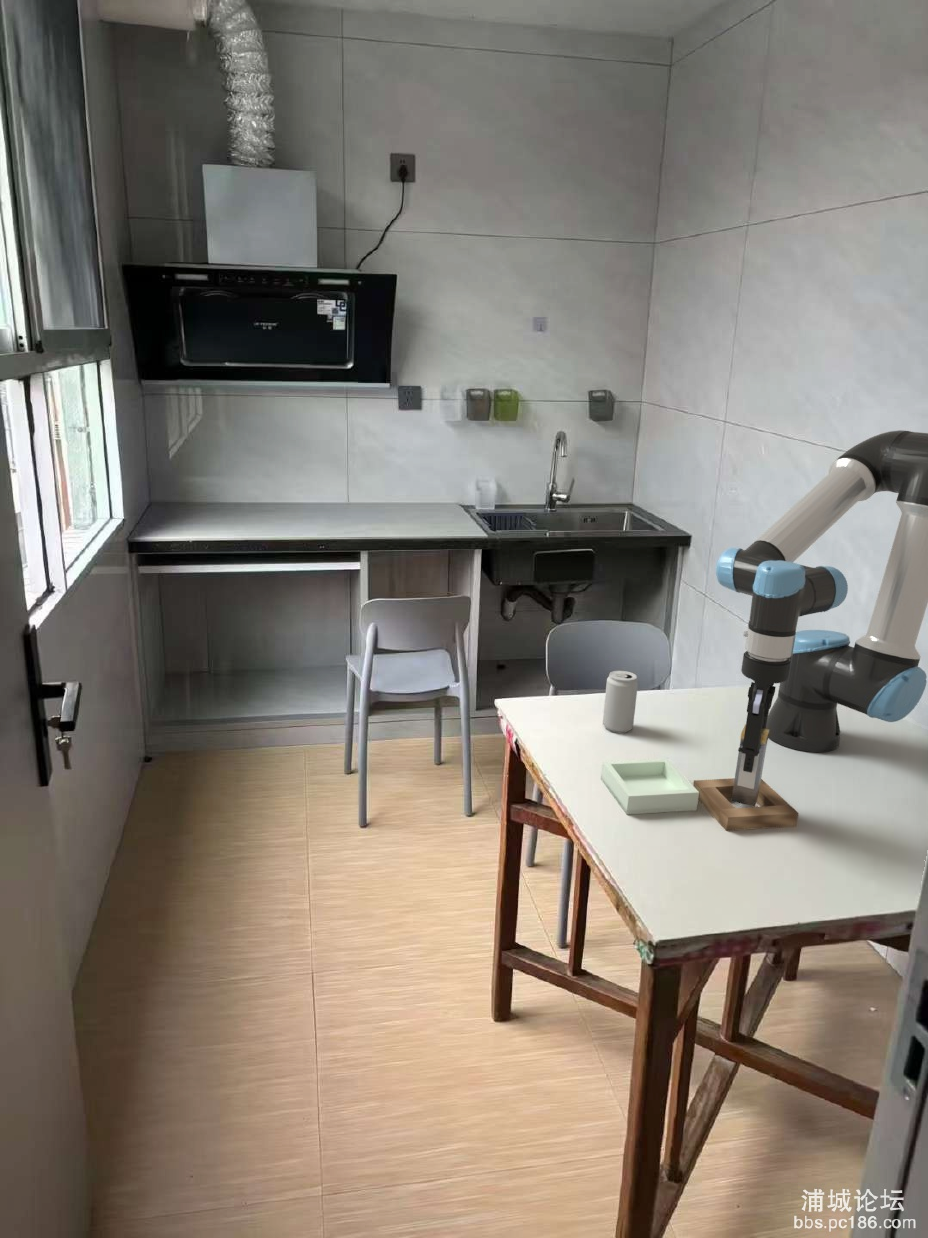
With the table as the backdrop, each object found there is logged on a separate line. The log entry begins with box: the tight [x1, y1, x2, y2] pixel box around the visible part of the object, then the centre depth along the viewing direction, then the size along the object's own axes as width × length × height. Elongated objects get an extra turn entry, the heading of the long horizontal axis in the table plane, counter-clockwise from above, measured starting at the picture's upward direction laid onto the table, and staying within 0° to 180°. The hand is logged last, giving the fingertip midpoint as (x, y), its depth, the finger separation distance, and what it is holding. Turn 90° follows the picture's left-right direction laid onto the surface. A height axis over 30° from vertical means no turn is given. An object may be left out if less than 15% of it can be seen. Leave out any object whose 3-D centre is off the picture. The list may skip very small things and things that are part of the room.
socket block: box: [692, 777, 799, 832], centre depth 152 cm, size 13×13×2 cm
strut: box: [730, 724, 769, 807], centre depth 150 cm, size 4×4×13 cm
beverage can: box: [602, 670, 639, 734], centre depth 181 cm, size 6×6×12 cm
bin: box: [600, 758, 699, 815], centre depth 156 cm, size 13×13×4 cm
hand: (747, 780), depth 151 cm, fingers closed on strut, 4 cm apart
